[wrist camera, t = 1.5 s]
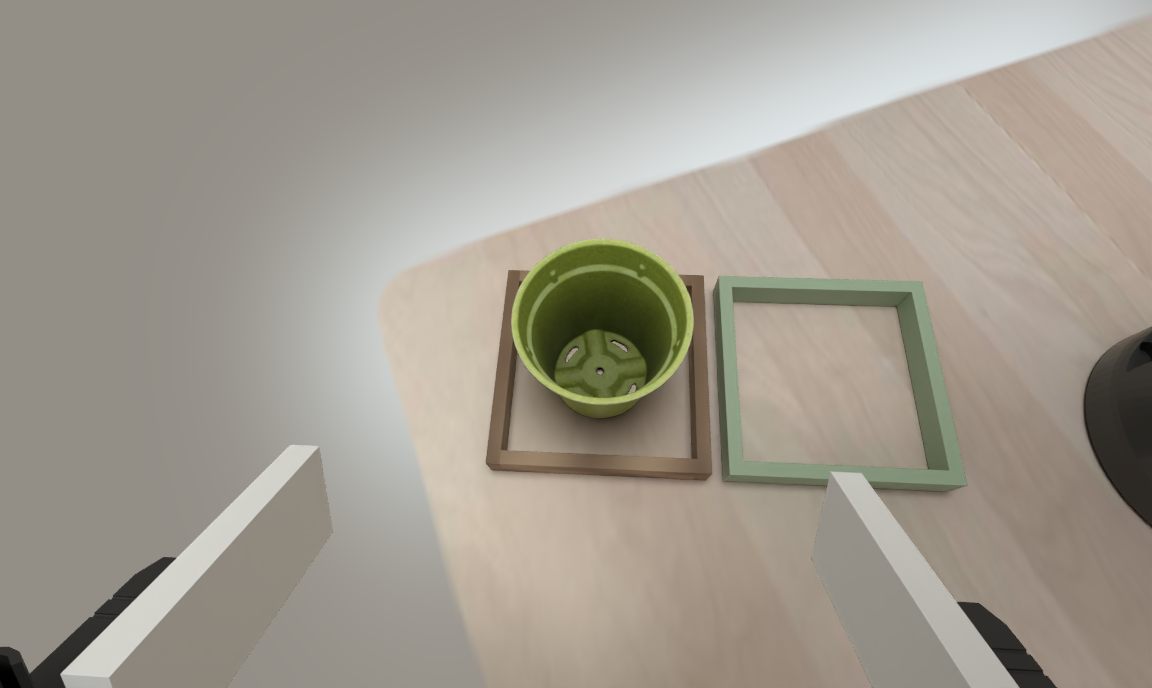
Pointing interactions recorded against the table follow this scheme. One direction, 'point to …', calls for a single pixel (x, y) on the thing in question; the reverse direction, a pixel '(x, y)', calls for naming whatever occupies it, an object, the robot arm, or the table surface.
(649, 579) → the table surface
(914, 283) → the sage green collar
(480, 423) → the table surface
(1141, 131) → the table surface
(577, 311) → the plant pot
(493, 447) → the walnut collar
